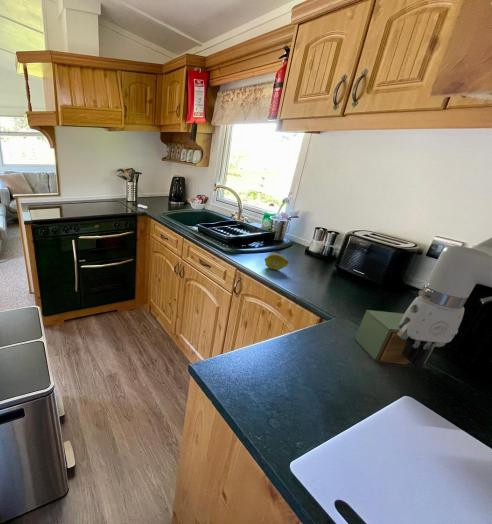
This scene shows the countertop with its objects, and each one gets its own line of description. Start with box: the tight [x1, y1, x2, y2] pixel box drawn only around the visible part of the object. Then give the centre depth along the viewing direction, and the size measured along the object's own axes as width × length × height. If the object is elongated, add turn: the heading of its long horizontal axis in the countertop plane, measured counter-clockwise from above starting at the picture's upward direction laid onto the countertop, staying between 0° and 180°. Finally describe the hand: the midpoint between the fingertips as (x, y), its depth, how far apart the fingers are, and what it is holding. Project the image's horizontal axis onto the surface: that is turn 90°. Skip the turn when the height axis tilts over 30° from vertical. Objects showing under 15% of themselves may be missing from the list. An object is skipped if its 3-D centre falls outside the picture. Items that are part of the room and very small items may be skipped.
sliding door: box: [380, 333, 432, 372], centre depth 78 cm, size 6×7×10 cm
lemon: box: [264, 253, 290, 271], centre depth 143 cm, size 11×8×8 cm
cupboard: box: [354, 309, 436, 370], centre depth 86 cm, size 12×14×11 cm
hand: (409, 357), depth 76 cm, fingers closed
